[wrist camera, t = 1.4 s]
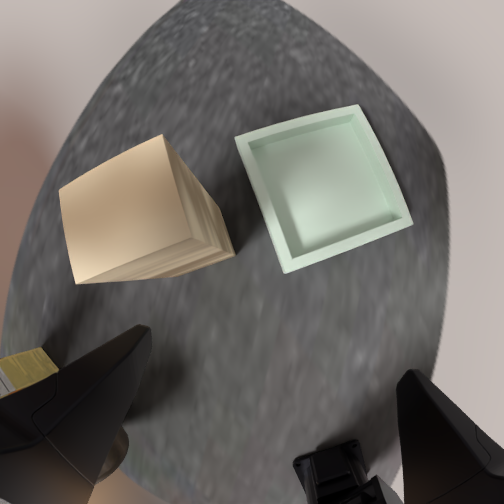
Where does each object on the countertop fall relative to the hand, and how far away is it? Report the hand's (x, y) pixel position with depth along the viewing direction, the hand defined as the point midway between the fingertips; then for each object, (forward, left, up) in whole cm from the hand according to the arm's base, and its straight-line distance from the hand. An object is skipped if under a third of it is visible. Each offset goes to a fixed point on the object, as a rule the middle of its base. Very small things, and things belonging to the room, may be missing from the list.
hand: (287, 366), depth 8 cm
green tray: (+8, -7, -13) cm, 17 cm away
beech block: (+7, +4, -13) cm, 15 cm away
